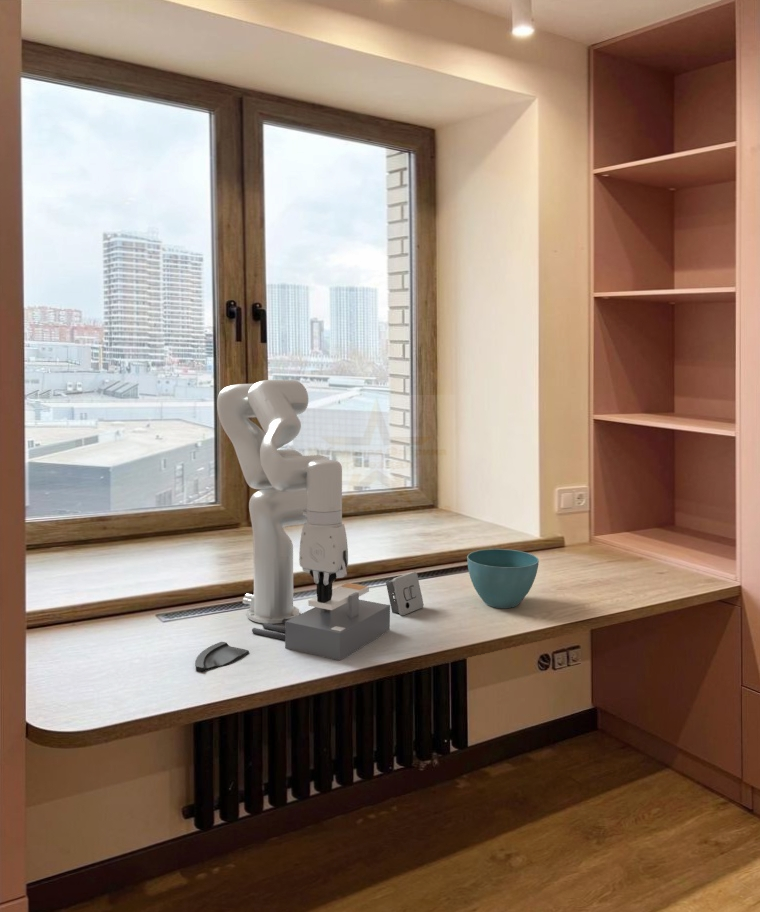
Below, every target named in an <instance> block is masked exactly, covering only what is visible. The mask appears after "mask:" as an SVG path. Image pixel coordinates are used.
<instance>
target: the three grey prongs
mask: <svg viewBox="0 0 760 912" xmlns="http://www.w3.org/2000/svg"><path fill="white" fill-rule="evenodd" d="M287 620H289V619H283V620H282V623H281V624H284V625H285V621H287ZM262 628H263V629H261V628H257V627H253V628H252V629H251V633H252V634H256V635H260V636H265V637H270V638H274V639H278V640H282V641H285V626H282V625H281V626H280V625H277V624H268V623H262ZM265 629H266V630H265ZM270 630H271V631H270ZM275 631H277V632H275ZM283 633H284V634H283Z"/></svg>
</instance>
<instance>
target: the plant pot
mask: <svg viewBox="0 0 760 912" xmlns="http://www.w3.org/2000/svg"><path fill="white" fill-rule="evenodd" d="M466 560H467V569H468V574H469V577H470V581H471V583H472V585H473V588H474V589H475V591H476V593H477V594H478V596H479V597H480V599H481V600H482V601H483V602H484V603H485V605H487V606H488V607H492V608H496V609H511V607H512V608H515V607H517V606H518V605H519V604H520V603H521V602H522V601H523V600H524V599H525V597H526V596H527V595H528V593H529V592H530V590H531V588H532V586H533V585H534V581H535V580H536V576H537V573H538V568H539V562H540V561H539V560H540V559H539V558H538V557H537V556H536V555H534V554H533V553H532V554H531V553H529V552H525V551H520V550H516V549H507V548H506V549H504V548H488V549H487V548H486V549H479V550H476V551H475V550H474V551H472V552H470V553H468V555H467V557H466Z"/></svg>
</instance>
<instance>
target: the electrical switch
mask: <svg viewBox="0 0 760 912" xmlns="http://www.w3.org/2000/svg"><path fill="white" fill-rule="evenodd" d="M385 584H386V590H387V593H388V594H387V595H388V598H389V605H390V610H391V612H392V613H393V614H394V613H397V614H398V613H399V615H400V616H406V615H407V614H410V613H412V612H414V611H418V610H420V609H422V608H424V600H423V595H422V591H421V590H422V589H421V586H420V581H419V577H418V572H416V571H411V572H408V573H405V574H402V575H399V576H397V577H393V579H392V580H388V581H386V582H385Z"/></svg>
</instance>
